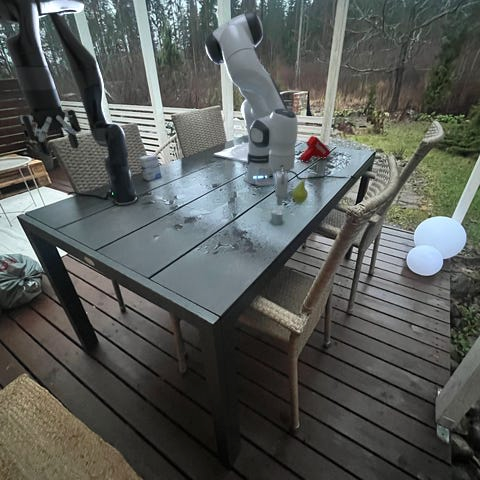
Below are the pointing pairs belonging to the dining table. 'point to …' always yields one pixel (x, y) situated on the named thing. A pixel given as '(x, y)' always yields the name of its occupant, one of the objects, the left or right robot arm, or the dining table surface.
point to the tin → (276, 217)
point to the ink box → (150, 167)
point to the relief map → (235, 153)
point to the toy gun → (315, 149)
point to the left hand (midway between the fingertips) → (61, 151)
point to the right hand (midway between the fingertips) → (278, 198)
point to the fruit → (300, 192)
